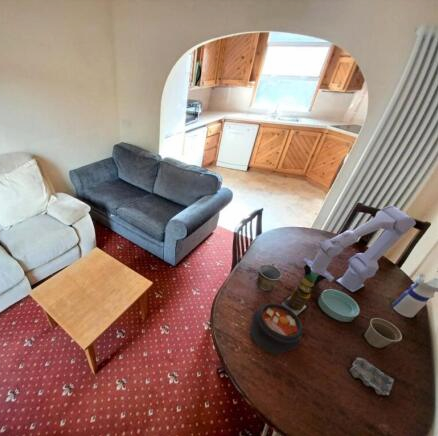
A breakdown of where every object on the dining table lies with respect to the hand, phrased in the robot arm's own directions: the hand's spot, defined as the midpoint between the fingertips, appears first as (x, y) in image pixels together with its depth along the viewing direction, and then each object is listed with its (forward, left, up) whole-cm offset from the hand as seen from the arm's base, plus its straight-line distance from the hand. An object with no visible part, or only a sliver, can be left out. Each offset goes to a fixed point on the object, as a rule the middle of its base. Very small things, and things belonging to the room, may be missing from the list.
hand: (310, 280), depth 119 cm
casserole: (+37, +11, -2) cm, 39 cm away
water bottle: (-24, +28, -2) cm, 37 cm away
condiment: (+19, +6, -2) cm, 20 cm away
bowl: (+3, +15, -1) cm, 15 cm away
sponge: (0, 0, -1) cm, 1 cm away
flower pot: (+4, +31, -2) cm, 31 cm away
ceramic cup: (+21, -9, -2) cm, 23 cm away
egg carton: (+21, +38, -2) cm, 43 cm away
